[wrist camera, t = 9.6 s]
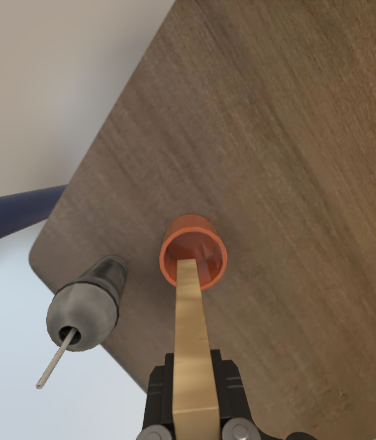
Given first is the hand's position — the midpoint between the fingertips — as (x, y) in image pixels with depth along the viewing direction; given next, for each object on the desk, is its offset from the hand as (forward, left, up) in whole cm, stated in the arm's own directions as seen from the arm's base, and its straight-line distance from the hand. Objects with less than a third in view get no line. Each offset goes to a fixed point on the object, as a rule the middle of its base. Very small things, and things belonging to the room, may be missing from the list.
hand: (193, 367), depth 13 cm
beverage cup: (-11, -5, -26) cm, 29 cm away
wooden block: (0, 0, -10) cm, 10 cm away
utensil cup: (+1, -1, -26) cm, 26 cm away
